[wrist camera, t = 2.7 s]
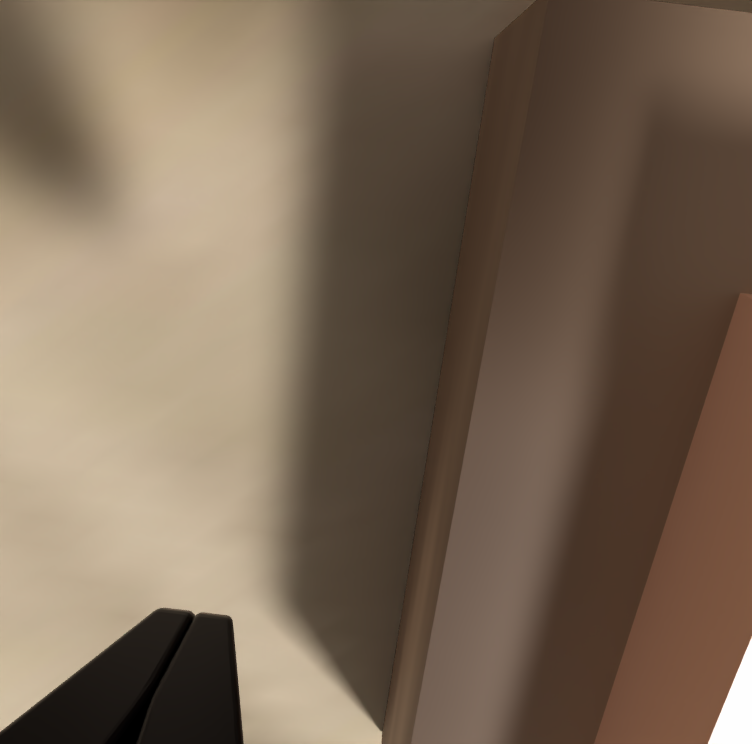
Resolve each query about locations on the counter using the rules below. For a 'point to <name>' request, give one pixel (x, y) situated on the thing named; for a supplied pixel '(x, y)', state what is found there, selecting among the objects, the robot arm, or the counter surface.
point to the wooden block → (573, 361)
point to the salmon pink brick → (699, 583)
